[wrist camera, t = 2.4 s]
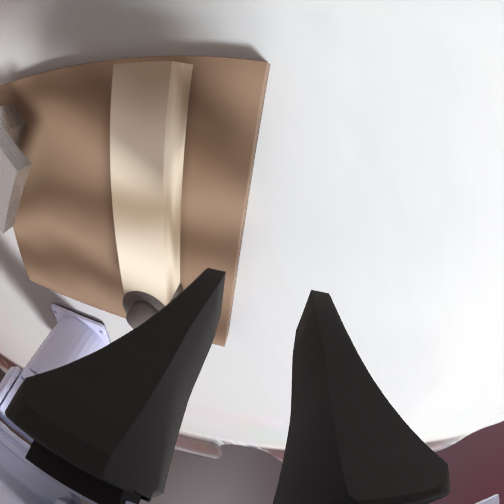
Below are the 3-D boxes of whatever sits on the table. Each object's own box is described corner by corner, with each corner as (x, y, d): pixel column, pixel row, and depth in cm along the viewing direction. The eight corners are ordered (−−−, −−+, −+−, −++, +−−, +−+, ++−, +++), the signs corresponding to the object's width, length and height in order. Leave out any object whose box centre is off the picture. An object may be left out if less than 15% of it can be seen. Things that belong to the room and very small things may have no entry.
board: (228, 333, 23) (224, 346, 22) (37, 272, 25) (29, 280, 23) (270, 64, 12) (266, 62, 11) (10, 83, 14) (-3, 86, 12)
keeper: (68, 147, 15) (17, 171, 11) (43, 204, 18) (3, 233, 14) (17, 87, 13) (-31, 100, 9) (-2, 145, 15) (-42, 165, 11)
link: (184, 312, 20) (167, 348, 17) (141, 300, 20) (120, 332, 18) (198, 64, 11) (168, 59, 8) (136, 65, 12) (95, 65, 9)
